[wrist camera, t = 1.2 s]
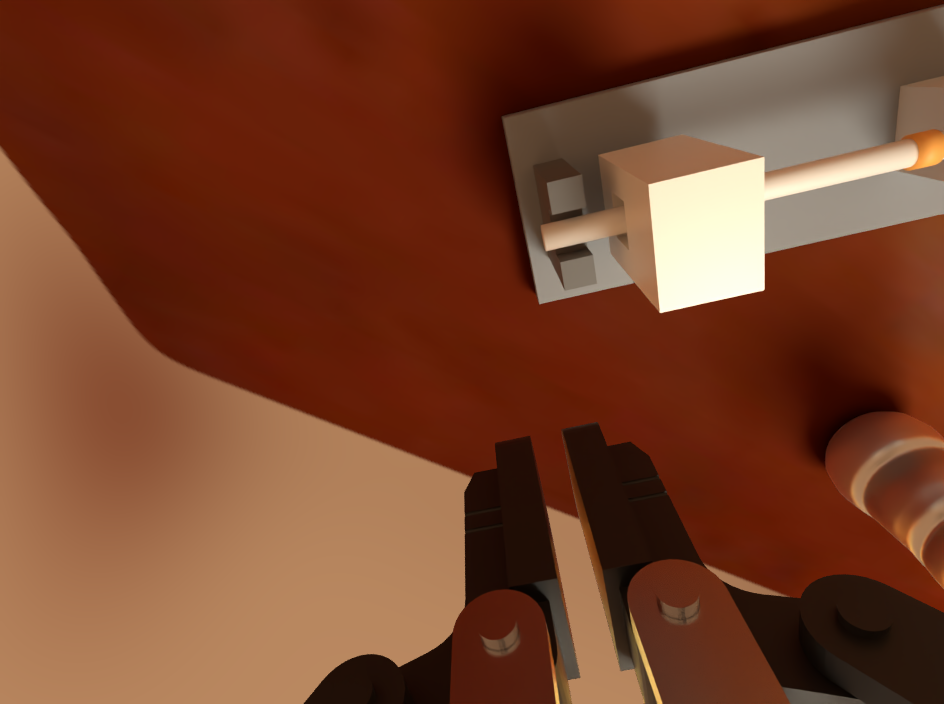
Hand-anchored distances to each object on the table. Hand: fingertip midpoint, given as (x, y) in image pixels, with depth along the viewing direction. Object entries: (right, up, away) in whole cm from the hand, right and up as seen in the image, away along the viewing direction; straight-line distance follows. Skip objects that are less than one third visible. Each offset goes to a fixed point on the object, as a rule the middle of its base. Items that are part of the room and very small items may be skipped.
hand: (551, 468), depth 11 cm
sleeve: (+7, +10, +16) cm, 20 cm away
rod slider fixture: (+12, +12, +19) cm, 25 cm away
